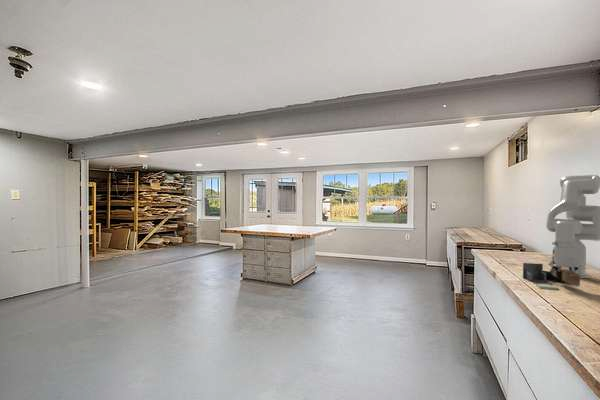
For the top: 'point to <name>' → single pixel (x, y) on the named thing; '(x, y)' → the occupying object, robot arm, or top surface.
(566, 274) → the walnut rail
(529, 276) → the grey metal bracket
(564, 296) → the top surface
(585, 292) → the top surface
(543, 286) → the pad
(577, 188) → the robot arm
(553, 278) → the pipe connector
